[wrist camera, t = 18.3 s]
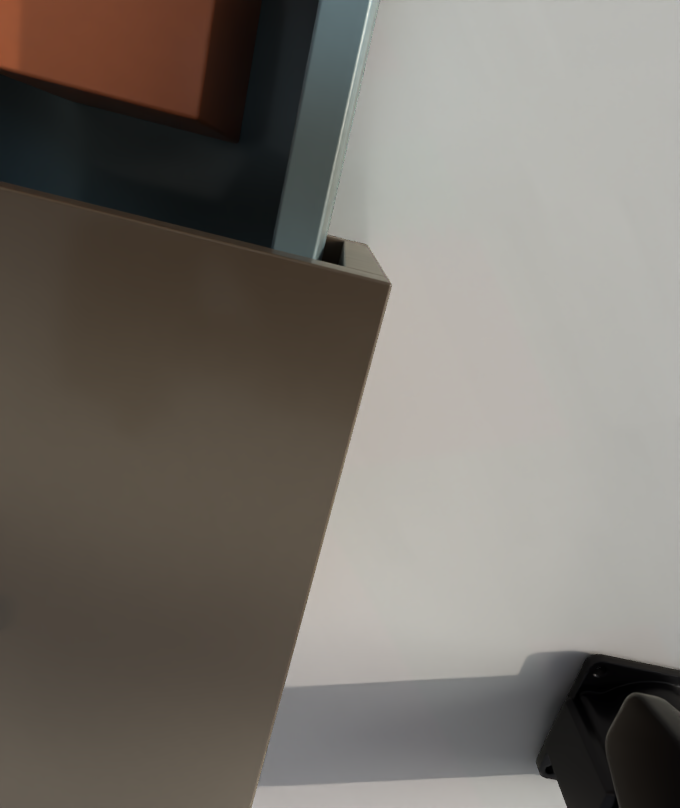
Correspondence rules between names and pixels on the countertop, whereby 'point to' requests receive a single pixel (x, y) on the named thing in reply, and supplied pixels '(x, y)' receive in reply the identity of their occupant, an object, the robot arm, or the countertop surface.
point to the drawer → (209, 157)
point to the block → (138, 57)
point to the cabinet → (162, 493)
